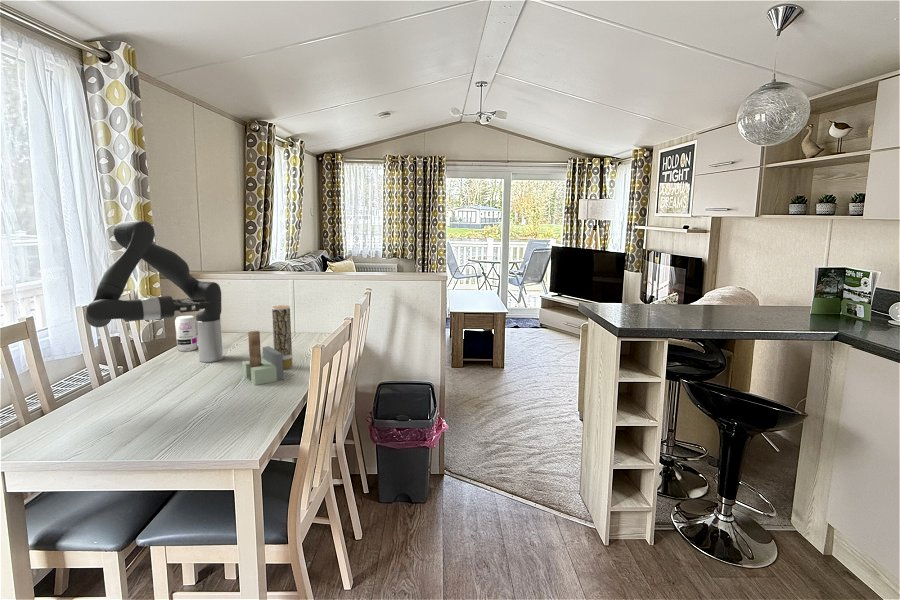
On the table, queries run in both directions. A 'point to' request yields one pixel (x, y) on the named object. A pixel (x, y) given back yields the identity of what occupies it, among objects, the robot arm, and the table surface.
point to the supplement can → (186, 333)
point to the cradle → (260, 372)
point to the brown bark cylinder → (282, 333)
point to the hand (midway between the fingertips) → (207, 303)
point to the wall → (274, 360)
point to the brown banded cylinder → (254, 349)
